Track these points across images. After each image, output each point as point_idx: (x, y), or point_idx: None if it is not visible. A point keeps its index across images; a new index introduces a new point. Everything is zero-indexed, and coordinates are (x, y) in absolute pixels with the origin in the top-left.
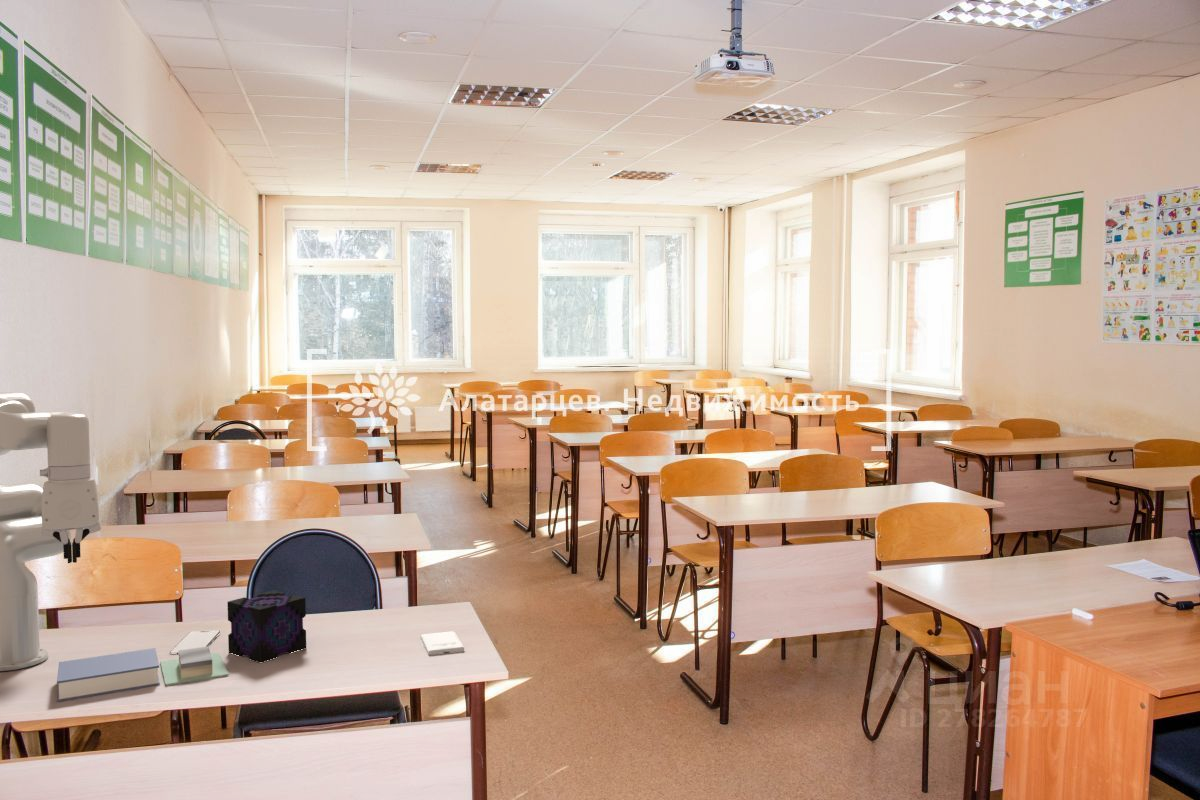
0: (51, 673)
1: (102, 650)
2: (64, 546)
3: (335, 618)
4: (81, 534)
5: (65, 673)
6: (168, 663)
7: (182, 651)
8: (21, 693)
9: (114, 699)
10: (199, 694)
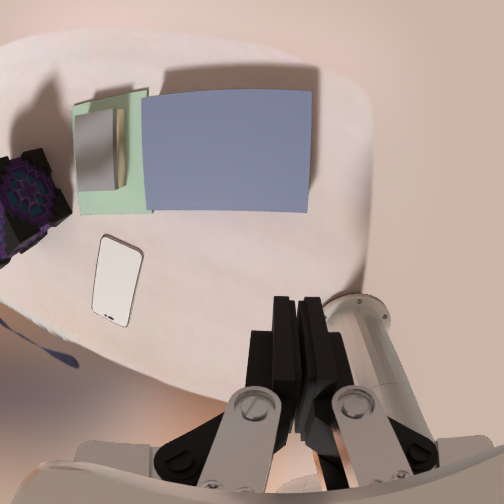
0: (312, 252)
1: (238, 323)
2: (347, 382)
3: (4, 286)
4: (220, 445)
5: (297, 131)
6: (140, 196)
7: (109, 181)
8: (357, 174)
9: (222, 61)
10: (113, 41)
